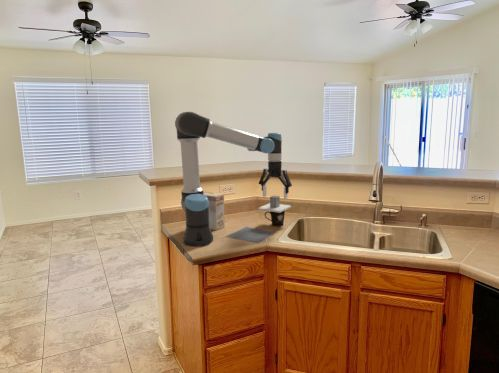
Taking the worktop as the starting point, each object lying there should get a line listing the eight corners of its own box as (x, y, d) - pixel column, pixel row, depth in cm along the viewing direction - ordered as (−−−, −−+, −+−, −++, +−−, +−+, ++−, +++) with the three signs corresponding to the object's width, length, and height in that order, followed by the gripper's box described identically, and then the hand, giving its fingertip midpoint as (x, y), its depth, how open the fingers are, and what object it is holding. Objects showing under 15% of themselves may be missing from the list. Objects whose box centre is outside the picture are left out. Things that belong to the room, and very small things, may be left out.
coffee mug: (285, 223, 215) (285, 206, 213) (285, 227, 207) (285, 210, 205) (265, 222, 216) (265, 206, 214) (264, 227, 208) (264, 210, 206)
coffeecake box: (225, 227, 208) (224, 194, 204) (216, 230, 203) (215, 196, 199) (207, 223, 217) (205, 191, 214) (198, 226, 212) (196, 193, 208)
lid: (258, 209, 207) (257, 197, 206) (270, 204, 219) (270, 193, 218) (279, 212, 200) (279, 200, 199) (291, 207, 212) (291, 195, 210)
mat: (225, 237, 191) (225, 236, 191) (246, 227, 208) (246, 226, 208) (257, 243, 181) (257, 243, 181) (277, 232, 197) (277, 232, 197)
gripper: (298, 161, 201) (297, 198, 205) (259, 158, 214) (259, 194, 218) (291, 162, 195) (291, 201, 199) (252, 160, 208) (252, 196, 212)
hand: (274, 197), depth 208 cm, fingers open, 13 cm apart
